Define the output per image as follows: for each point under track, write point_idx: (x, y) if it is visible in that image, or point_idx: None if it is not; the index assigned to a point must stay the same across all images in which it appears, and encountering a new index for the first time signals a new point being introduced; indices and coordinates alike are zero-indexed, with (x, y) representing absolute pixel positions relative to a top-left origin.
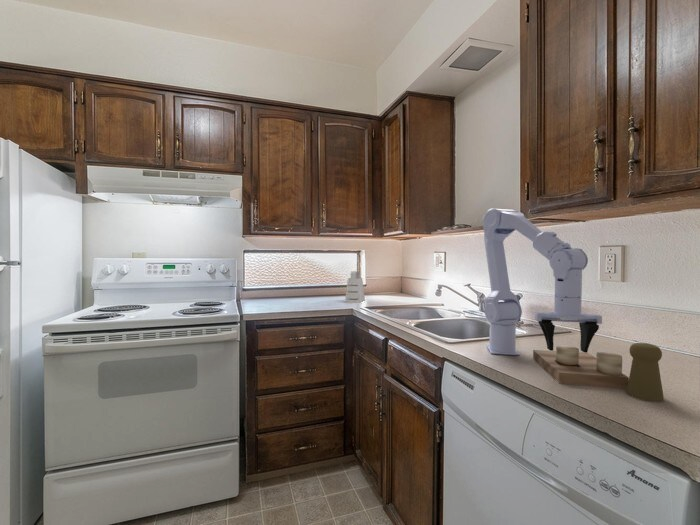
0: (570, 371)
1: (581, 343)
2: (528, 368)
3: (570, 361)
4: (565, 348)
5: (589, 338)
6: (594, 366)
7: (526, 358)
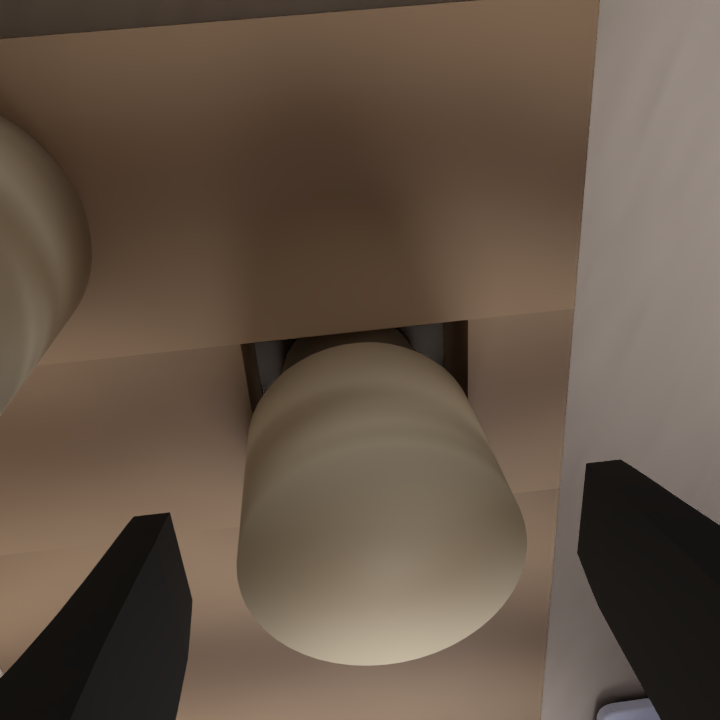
0: (429, 100)
1: (170, 683)
2: (663, 411)
3: (365, 359)
4: (428, 515)
5: (32, 688)
6: (84, 412)
7: (565, 662)
